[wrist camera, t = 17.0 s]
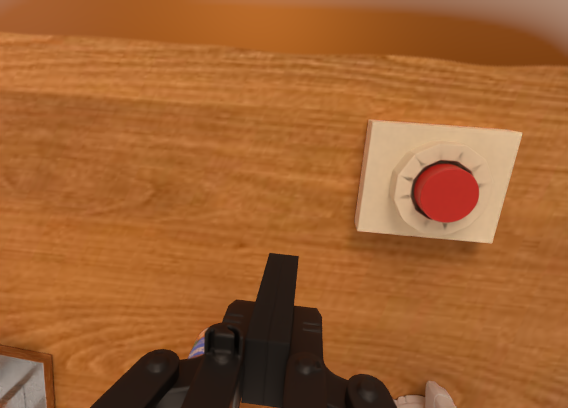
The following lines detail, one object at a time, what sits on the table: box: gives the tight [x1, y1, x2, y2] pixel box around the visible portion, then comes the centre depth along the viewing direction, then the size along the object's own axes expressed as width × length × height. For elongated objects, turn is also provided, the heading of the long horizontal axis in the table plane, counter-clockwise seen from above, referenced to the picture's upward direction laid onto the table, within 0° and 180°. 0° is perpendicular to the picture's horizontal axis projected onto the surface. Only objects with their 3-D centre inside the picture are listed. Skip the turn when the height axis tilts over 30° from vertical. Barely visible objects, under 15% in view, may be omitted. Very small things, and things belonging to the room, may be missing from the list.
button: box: [414, 164, 479, 223], centre depth 25 cm, size 4×4×2 cm
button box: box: [354, 120, 522, 243], centre depth 27 cm, size 11×9×4 cm
